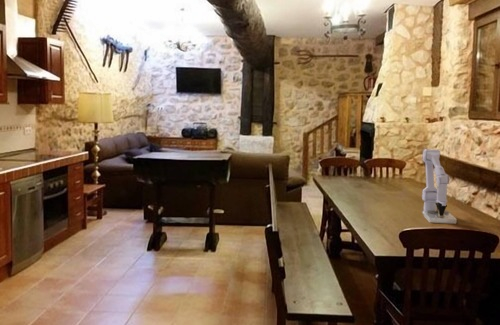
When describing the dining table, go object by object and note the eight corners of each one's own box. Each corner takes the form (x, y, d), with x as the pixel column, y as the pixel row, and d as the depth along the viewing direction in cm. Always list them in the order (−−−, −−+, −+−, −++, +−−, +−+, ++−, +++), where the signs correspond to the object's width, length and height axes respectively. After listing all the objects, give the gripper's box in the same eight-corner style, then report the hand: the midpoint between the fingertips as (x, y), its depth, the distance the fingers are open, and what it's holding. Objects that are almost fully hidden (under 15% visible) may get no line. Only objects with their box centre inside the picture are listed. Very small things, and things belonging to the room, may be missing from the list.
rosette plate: (423, 216, 322) (424, 209, 322) (449, 217, 320) (449, 210, 319) (429, 222, 304) (429, 215, 304) (456, 223, 302) (456, 216, 302)
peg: (438, 217, 312) (438, 206, 311) (443, 217, 311) (443, 207, 310) (439, 218, 309) (439, 207, 308) (444, 218, 308) (445, 208, 307)
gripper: (451, 196, 300) (450, 217, 302) (445, 192, 315) (444, 212, 316) (439, 195, 301) (438, 217, 303) (434, 191, 316) (433, 212, 317)
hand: (440, 214), depth 310 cm, fingers closed on peg, 3 cm apart
